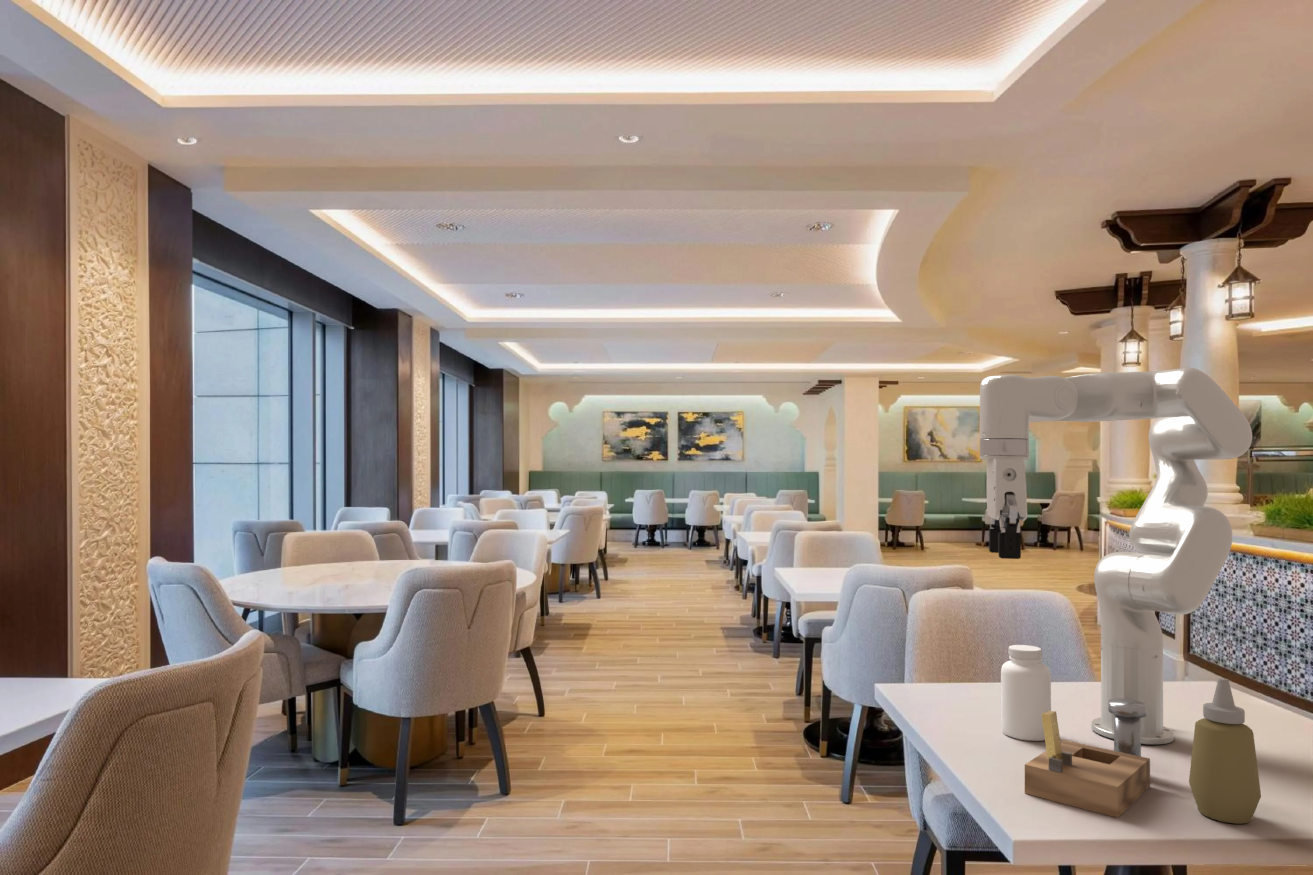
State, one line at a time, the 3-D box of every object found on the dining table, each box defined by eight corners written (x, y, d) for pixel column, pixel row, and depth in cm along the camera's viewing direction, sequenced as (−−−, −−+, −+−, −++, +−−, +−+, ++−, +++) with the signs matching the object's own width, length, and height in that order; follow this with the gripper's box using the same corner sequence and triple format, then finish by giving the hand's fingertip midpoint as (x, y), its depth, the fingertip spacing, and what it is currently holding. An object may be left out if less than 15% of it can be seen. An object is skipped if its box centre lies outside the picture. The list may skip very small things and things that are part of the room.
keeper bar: (1063, 762, 122) (1054, 761, 122) (1056, 711, 122) (1047, 710, 123) (1057, 766, 120) (1048, 765, 121) (1050, 714, 121) (1041, 714, 122)
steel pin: (1113, 764, 134) (1113, 696, 135) (1151, 772, 131) (1150, 702, 131) (1103, 772, 130) (1103, 702, 131) (1141, 781, 127) (1141, 709, 127)
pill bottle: (990, 730, 151) (991, 644, 151) (1025, 725, 154) (1025, 641, 154) (1026, 744, 143) (1026, 653, 144) (1061, 739, 147) (1061, 650, 147)
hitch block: (1063, 765, 133) (1063, 729, 133) (1150, 786, 125) (1149, 747, 125) (1024, 792, 121) (1024, 752, 122) (1117, 817, 113) (1117, 774, 113)
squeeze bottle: (1174, 804, 118) (1174, 672, 119) (1230, 803, 119) (1229, 672, 119) (1218, 829, 110) (1217, 687, 111) (1277, 828, 111) (1275, 687, 111)
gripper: (1039, 449, 132) (1040, 561, 131) (1018, 452, 149) (1018, 551, 148) (988, 449, 134) (988, 559, 133) (972, 451, 150) (972, 549, 150)
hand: (1004, 555), depth 141 cm, fingers open, 9 cm apart
